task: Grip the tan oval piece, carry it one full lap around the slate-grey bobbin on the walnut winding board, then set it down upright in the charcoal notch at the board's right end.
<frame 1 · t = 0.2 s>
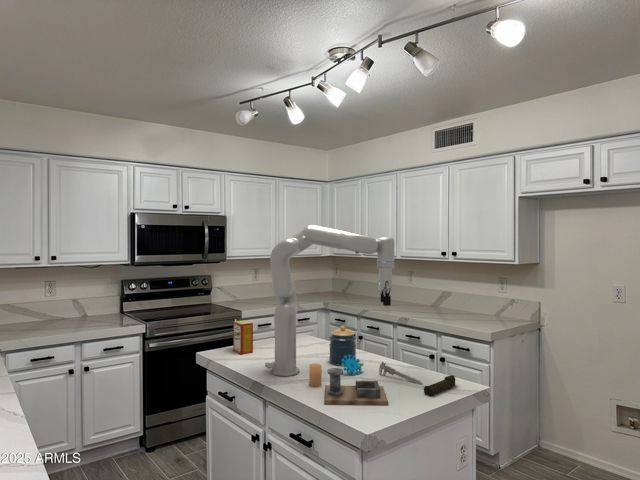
hand: (385, 303, 195), 31 cm above the counter, tool pointing down, fingers open, 9 cm apart
baking soda box: (243, 352, 231), on the counter
canister: (342, 362, 213), on the counter
hand tool: (440, 390, 175), on the counter
caliper: (400, 380, 187), on the counter
tan oval piece: (315, 384, 180), on the counter
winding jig: (354, 396, 167), on the counter
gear: (352, 373, 196), on the counter
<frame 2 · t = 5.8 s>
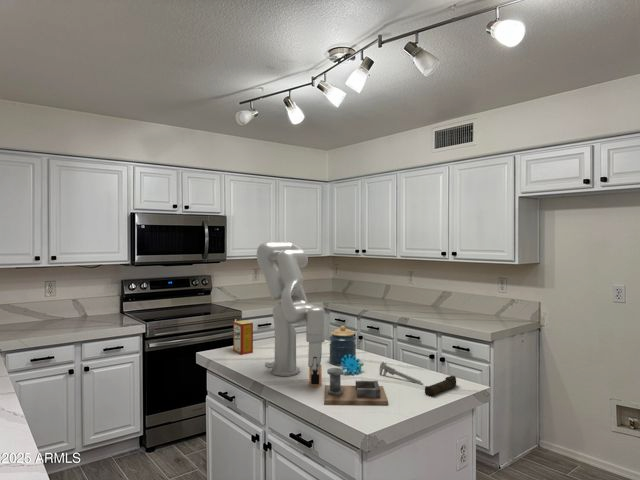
hand: (315, 381, 180), 1 cm above the counter, tool pointing down, fingers closed on tan oval piece, 4 cm apart
tan oval piece: (315, 384, 180), on the counter, touching gripper
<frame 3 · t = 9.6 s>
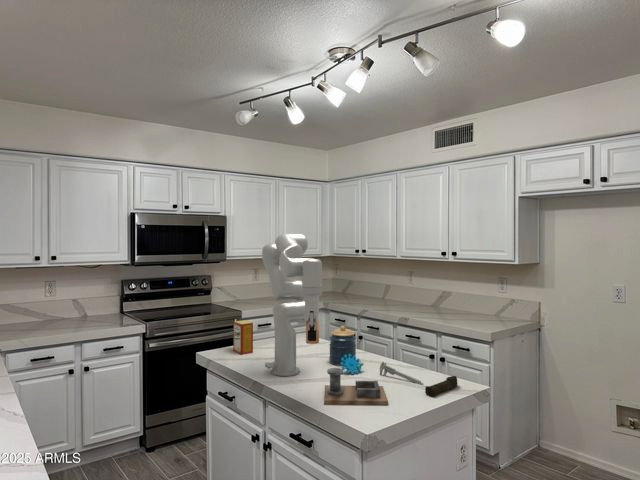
hand: (312, 338, 168), 22 cm above the counter, tool pointing down, fingers closed on tan oval piece, 4 cm apart
tan oval piece: (312, 342, 168), point 20 cm above the counter, touching gripper
when the fingers open (5 cm above the counter, at t = 17.6 s): tan oval piece drops 2 cm, resting on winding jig.
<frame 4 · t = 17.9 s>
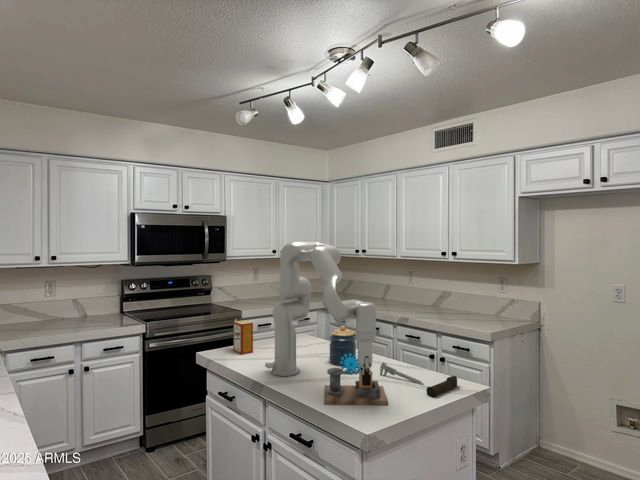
hand: (365, 381, 167), 6 cm above the counter, tool pointing down, fingers open, 7 cm apart
tan oval piece: (365, 393, 167), point 2 cm above the counter, touching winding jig
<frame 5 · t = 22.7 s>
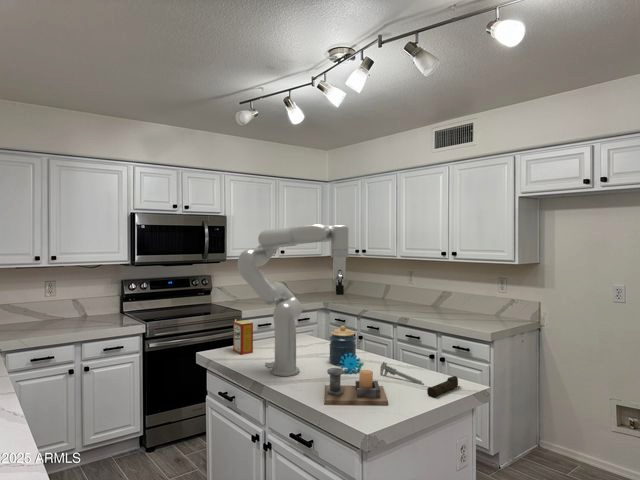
hand: (339, 293, 190), 36 cm above the counter, tool pointing down, fingers open, 9 cm apart
at the end: tan oval piece 0.2 cm from the target spot on the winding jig, point 1.6 cm above the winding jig's base; tan oval piece tilted 2°; the gripper is holding nothing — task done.
